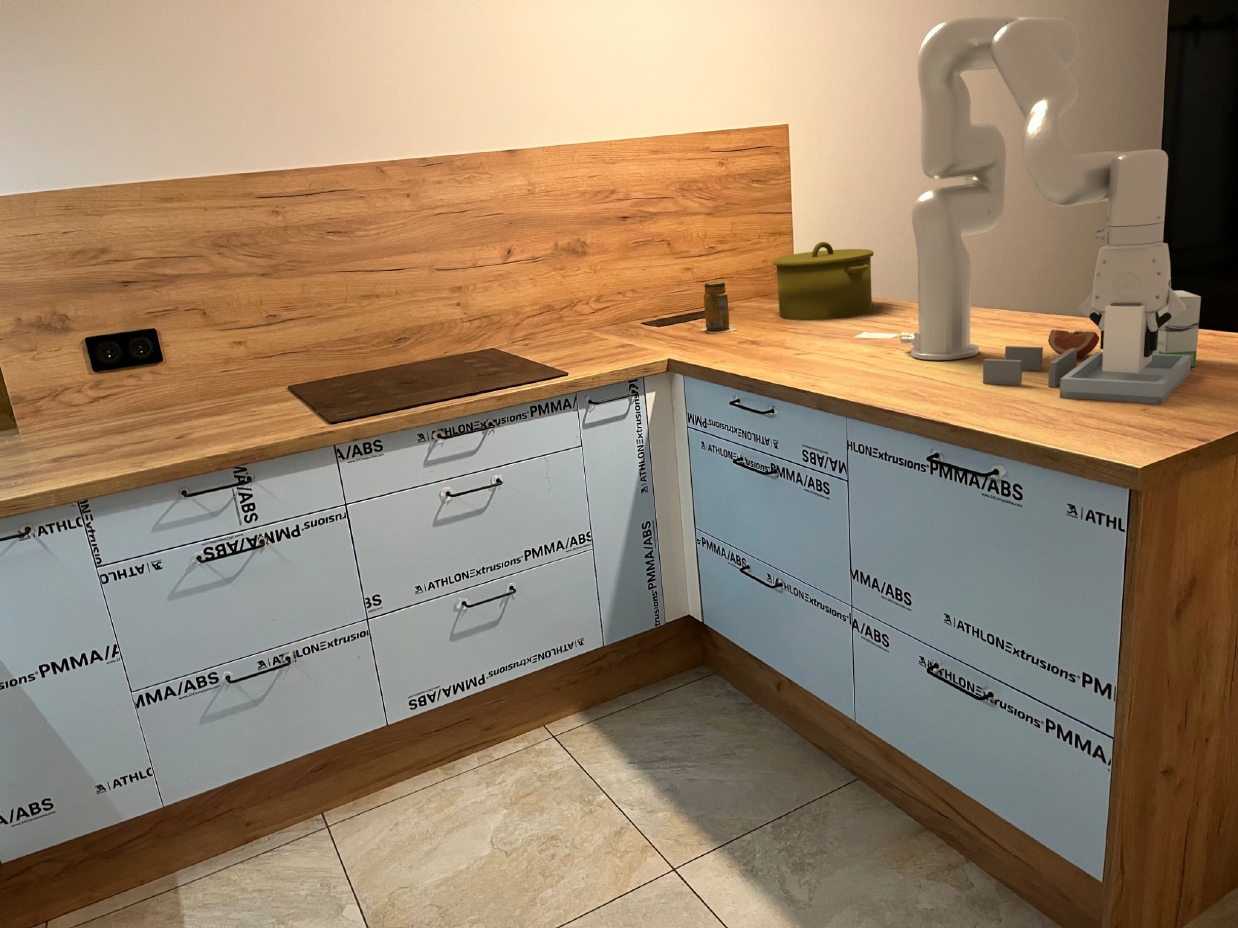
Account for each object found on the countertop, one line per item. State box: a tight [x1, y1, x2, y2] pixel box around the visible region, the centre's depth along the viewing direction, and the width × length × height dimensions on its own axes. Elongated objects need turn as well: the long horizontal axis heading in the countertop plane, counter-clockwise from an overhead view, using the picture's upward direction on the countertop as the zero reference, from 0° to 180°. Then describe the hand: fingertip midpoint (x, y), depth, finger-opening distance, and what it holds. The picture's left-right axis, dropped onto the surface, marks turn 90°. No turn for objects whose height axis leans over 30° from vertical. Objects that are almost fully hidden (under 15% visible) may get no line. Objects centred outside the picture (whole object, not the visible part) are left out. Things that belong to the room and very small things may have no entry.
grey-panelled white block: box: [1102, 303, 1152, 373], centre depth 143 cm, size 5×9×10 cm, turn 140°
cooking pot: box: [771, 241, 874, 321], centre depth 242 cm, size 30×26×18 cm
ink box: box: [1153, 290, 1202, 368], centre depth 154 cm, size 9×5×12 cm, turn 168°
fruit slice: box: [1047, 329, 1100, 359], centre depth 167 cm, size 8×7×5 cm
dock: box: [982, 345, 1078, 388], centre depth 156 cm, size 12×12×4 cm
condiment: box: [700, 281, 738, 334], centre depth 234 cm, size 7×8×12 cm
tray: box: [1059, 351, 1192, 405], centre depth 145 cm, size 14×20×3 cm
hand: (1128, 353), depth 144 cm, fingers closed on grey-panelled white block, 5 cm apart
